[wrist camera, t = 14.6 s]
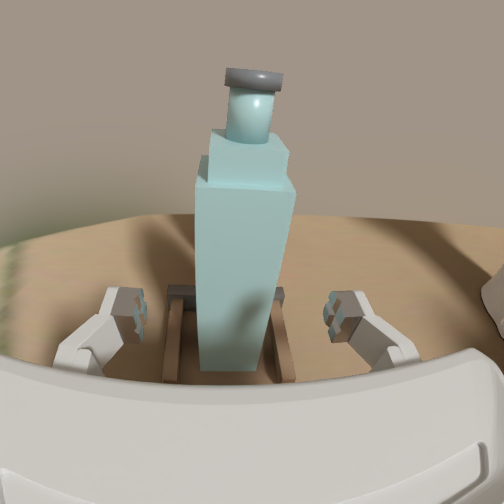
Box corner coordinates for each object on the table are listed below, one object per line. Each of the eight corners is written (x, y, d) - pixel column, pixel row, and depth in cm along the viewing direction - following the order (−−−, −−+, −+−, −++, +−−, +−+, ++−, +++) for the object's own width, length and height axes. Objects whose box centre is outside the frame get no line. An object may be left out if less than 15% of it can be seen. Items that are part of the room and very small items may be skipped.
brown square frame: (297, 402, 23) (306, 388, 22) (160, 404, 22) (154, 390, 20) (277, 305, 33) (282, 287, 31) (170, 303, 31) (168, 284, 30)
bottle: (255, 370, 25) (317, 79, 11) (200, 371, 25) (201, 67, 10) (250, 328, 29) (291, 75, 15) (201, 328, 29) (207, 66, 14)
